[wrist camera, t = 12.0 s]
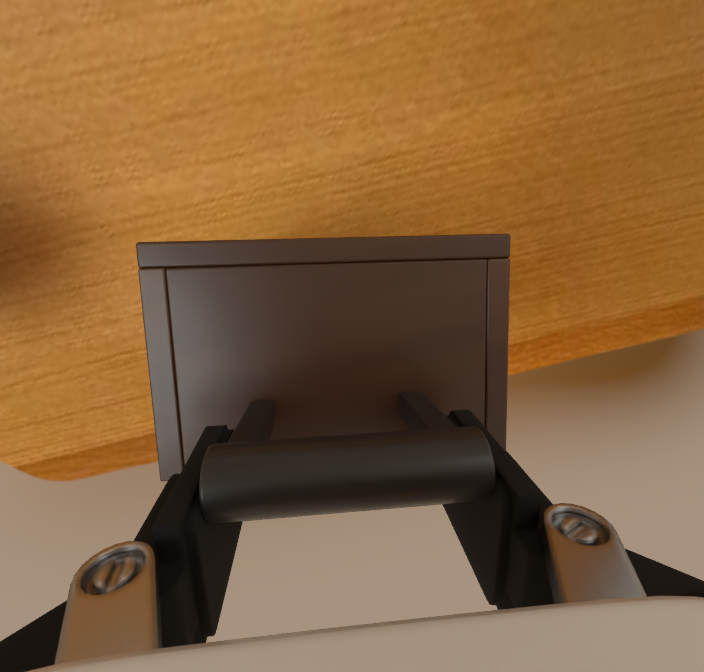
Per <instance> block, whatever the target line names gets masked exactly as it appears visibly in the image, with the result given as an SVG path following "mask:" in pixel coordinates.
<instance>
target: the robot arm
mask: <svg viewBox="0 0 704 672" xmlns="http://www.w3.org/2000/svg"><path fill="white" fill-rule="evenodd" d="M446 417H447V418H448V419H449V420H450V421H451V422H452V423H453V424H454V425H455V426H456V427H469V426H474V427H477V428H479V429H480V430H481V431H482V432H483V433H484V435H485V437H486V438H487V440H488V443H489V445H490V448H491V451H492V455H493V459H494V465H495V488H494V492H493V495H492V496H491V497H490V498H489V499H488V500H485V501H474V502H462V503H450V504H443V506H444V508H445V511H446V513H447V515H448V517H449V519H450V521H451V523H452V526H453V527H454V530H455V532H456V534H457V536H458V539H459V541H460V542H461V545H462V547H463V549H464V552H465V554H466V555H467V558H468V560H469V562H470V564H471V566H472V568H473V571H474V573H475V575H476V577H477V580H478V582H479V584H480V586H481V588H482V590H483V592H484V595H485V597H486V599H487V600H488V602H489V604H490V605H496V606H497V608H498V610H493V611H483V612H475V613H474V612H473V613H464V614H455V615H445V616H436V617H428V618H418V619H409V620H400V621H391V622H382V623H373V624H364V625H355V626H346V627H337V628H328V629H319V630H310V631H302V632H293V633H286V634H277V635H268V636H260V637H251V638H242V639H234V640H226V641H217V642H208V643H206V640H207V637H208V636H214V635H215V633H216V629H217V626H218V622H219V617H220V613H221V609H222V605H223V600H224V596H225V592H226V588H227V584H228V580H229V576H230V572H231V567H232V563H233V559H234V555H235V551H236V546H237V543H238V538H239V534H240V530H241V526H242V522H243V521H239V522H227V523H216V524H209V523H207V522H205V521H204V519H203V516H202V512H201V508H200V500H199V482H200V472H201V466H202V462H203V458H204V455H205V453H206V450H207V449H208V447H209V446H210V445H212V444H218V443H227V442H228V440H229V439H230V437H231V435H232V433H233V431H234V429H231V430H228V427H227V425H217V426H206V427H205V429H204V431H203V433H202V435H201V436H200V438H199V440H198V442H197V444H196V446H195V448H194V449H193V451H192V453H191V455H190V457H189V459H188V461H187V462H186V464H185V466H184V468H183V470H182V472H181V473H180V474H174V475H172V476H171V477H170V478H169V480H168V482H167V484H166V485H165V487H164V489H163V491H162V493H161V494H160V496H159V498H158V499H157V501H156V503H155V505H154V506H153V508H152V510H151V512H150V513H149V515H148V517H147V519H146V520H145V522H144V524H143V525H142V527H141V529H140V531H139V533H138V534H137V536H136V538H135V539H134V541H127V542H123V543H119V544H115V545H113V546H111V547H108V548H106V549H104V550H102V551H100V552H99V553H97V554H96V555H94V556H92V557H91V558H90V559H89V560H88V561H86V562H85V563H84V564H83V565H82V566H81V567H80V569H79V570H78V571H77V573H76V574H75V575H74V577H73V580H72V582H71V584H70V589H69V594H68V599H67V601H65V602H64V603H62V604H60V605H59V606H57V607H56V608H54V609H53V610H51V611H49V612H47V613H46V614H44V615H43V616H41V617H39V618H38V619H36V620H35V621H33V622H31V623H30V624H28V625H26V626H25V627H23V628H22V629H20V630H18V631H17V632H15V633H14V634H12V635H10V636H9V637H7V638H5V639H4V640H2V641H1V642H0V672H704V581H702V580H699V579H697V578H695V577H692V576H690V575H688V574H685V573H683V572H680V571H678V570H676V569H673V568H671V567H668V566H666V565H663V564H661V563H659V562H656V561H654V560H651V559H649V558H646V557H644V556H642V555H639V554H637V553H634V552H632V551H629V550H627V549H625V548H624V546H623V544H622V542H621V540H620V538H619V535H618V533H617V532H616V530H615V529H614V527H613V526H612V524H611V523H609V522H608V521H607V520H606V519H605V518H604V517H602V516H601V515H599V514H597V513H596V512H594V511H592V510H590V509H587V508H585V507H582V506H578V505H574V504H566V503H560V504H554V505H553V504H552V503H551V502H550V501H549V499H548V498H547V497H546V496H545V495H544V494H543V493H542V491H541V490H540V489H539V488H538V487H537V485H536V484H535V483H534V482H533V481H532V480H531V479H530V478H529V476H528V475H527V474H526V473H525V472H524V470H523V469H522V468H521V467H520V466H519V465H518V463H517V462H516V461H515V460H514V459H513V458H512V457H511V455H510V454H509V453H508V452H506V451H505V450H504V449H503V448H502V447H501V446H500V444H499V443H498V442H497V441H496V440H495V438H494V437H493V436H492V435H491V434H490V433H489V431H488V430H487V429H486V428H485V427H484V426H483V424H482V423H481V422H480V421H479V420H478V419H477V417H476V416H475V415H474V414H473V413H472V412H471V411H470V410H469V409H467V410H451V411H450V412H449V415H446Z"/></svg>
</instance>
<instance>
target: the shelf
mask: <svg viewBox="0 0 704 672" xmlns="http://www.w3.org/2000/svg"><path fill="white" fill-rule="evenodd" d="M136 248H137V258H138V266H139V268H140V269H139V270H138V271H139V281H140V290H141V300H142V309H143V319H144V328H145V338H146V347H147V357H148V366H149V376H150V385H151V395H152V404H153V414H154V423H155V433H156V442H157V452H158V461H159V470H160V480H161V481H168V480H169V478H170V477H171V476H172V475H174V474H180V473H181V472H182V470H183V468H184V466H185V464H186V462H187V461H188V459H189V457H190V455H191V453H192V451H193V449H194V448H195V446H196V444H197V442H198V440H199V438H200V436H201V435H202V433H203V431H204V429H205V427H206V426H217V425H227V427H228V430H231V429H234V431H233V433H232V435H231V437H230V439H229V440H228V442H227V443H218V444H212V445H210V446H209V447H208V449H207V450H206V453H205V455H204V458H203V462H202V466H201V472H200V482H199V500H200V508H201V512H202V516H203V519H204V521H205V522H207V523H209V524H216V523H227V522H239V521H251V520H262V519H274V518H286V517H297V516H309V515H321V514H332V513H345V512H356V511H368V510H380V509H391V508H403V507H415V506H426V505H437V504H438V505H439V504H450V503H462V502H474V501H485V500H488V499H489V498H490V497H491V496H492V495H493V492H494V488H495V465H494V459H493V455H492V451H491V448H490V445H489V443H488V440H487V438H486V437H485V435H484V433H483V432H482V431H481V430H480V429H479V428H477V427H474V426H469V427H456V426H455V425H454V424H453V423H452V422H451V421H450V420H449V419H448V418H447V417H446V415H449V412H450V411H451V410H467V409H469V410H470V411H471V412H472V413H473V414H474V415H475V416H476V417H477V419H478V420H479V421H480V422H481V423H482V424H483V426H484V427H485V428H486V429H487V430H488V431H489V433H490V434H491V435H492V436H493V437H494V438H495V440H496V441H497V442H498V443H499V444H500V446H501V447H502V448H503V449H504V450H505V451H506V419H507V372H508V325H509V277H510V259H508V257H509V256H510V235H509V234H476V235H432V236H388V237H343V238H299V239H255V240H211V241H167V242H138V243H137V244H136Z"/></svg>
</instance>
